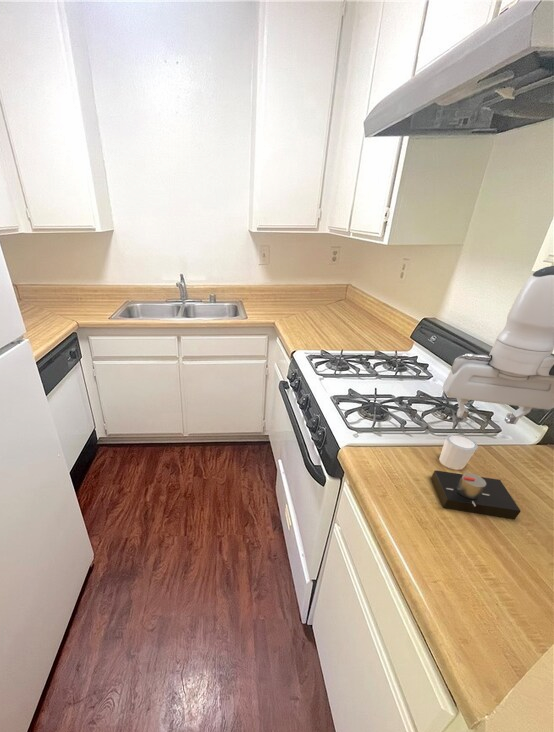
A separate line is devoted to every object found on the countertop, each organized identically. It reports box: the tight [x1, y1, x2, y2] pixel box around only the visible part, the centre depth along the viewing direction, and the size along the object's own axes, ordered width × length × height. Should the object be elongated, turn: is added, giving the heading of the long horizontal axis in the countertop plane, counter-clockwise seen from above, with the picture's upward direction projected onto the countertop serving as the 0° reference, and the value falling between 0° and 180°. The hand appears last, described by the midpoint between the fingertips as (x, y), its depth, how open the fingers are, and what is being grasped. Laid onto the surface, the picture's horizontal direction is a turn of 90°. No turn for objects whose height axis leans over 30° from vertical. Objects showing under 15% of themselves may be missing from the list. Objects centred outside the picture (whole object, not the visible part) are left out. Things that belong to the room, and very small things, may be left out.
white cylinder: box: [438, 433, 479, 471], centre depth 86 cm, size 7×7×7 cm
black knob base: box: [430, 469, 522, 521], centre depth 76 cm, size 14×11×3 cm
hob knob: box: [456, 472, 486, 499], centre depth 74 cm, size 4×4×4 cm
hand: (484, 419), depth 74 cm, fingers open, 8 cm apart
